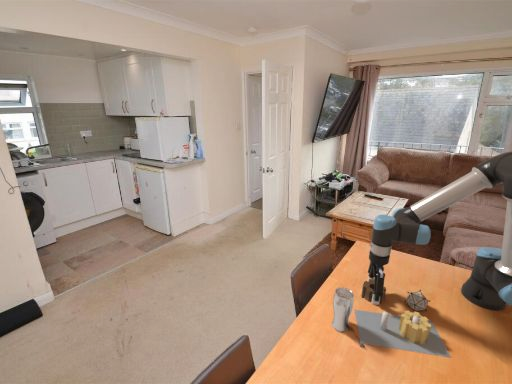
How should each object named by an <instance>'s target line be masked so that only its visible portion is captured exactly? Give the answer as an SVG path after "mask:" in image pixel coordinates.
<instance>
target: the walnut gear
mask: <svg viewBox="0 0 512 384" xmlns="http://www.w3.org/2000/svg"><path fill="white" fill-rule="evenodd" d="M361 289H362V290H361V295H360V296H361V299H364V300H366V301H367V302H369V301H370V302H372V297H373V294H372V292H374V281H373V280H370V281H369V282H368V280H365V281H363V284H362V287H361ZM386 292H387V287H386V286H384V288H383V297H381V296H380V301H379V303H380V304H382V303H383V302H385V299H386Z"/></svg>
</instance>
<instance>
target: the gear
mask: <svg viewBox="0 0 512 384" xmlns="http://www.w3.org/2000/svg"><path fill="white" fill-rule="evenodd" d="M400 316H401V320H400V325H399V330H401V332H400V334H401V335H402V336H403V337H407V338H408V339H409V341H410V342H412V343H414V342H419V343H420V344H425V340H428V336H429V333H430V329H431V324H429V323H428V321H429V320H430V319H428V317H426V316H422V315H421V314H420V312H418V311H416V310H414V312H413V311H410V310H404V312H403V313H401V315H400ZM413 316H418V317H419V318H420V320H419V324H418V325H417V324H415V323H412V320H413Z"/></svg>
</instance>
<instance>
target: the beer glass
mask: <svg viewBox="0 0 512 384" xmlns="http://www.w3.org/2000/svg"><path fill="white" fill-rule="evenodd" d="M354 297H355V295H354V292H353V291H352V290H351V289H349V288H347V287H341V286H340V287H337V288H336V289H334V294H333V301H332V307H333V308H332V309H333V318H332V321H331V325H332V328H333V329H334V330H336V331H337V332H339V333H345V332H347V331H349V328H350V326H349V319H350V318H351V315H352V312H353V309H354V308H353V307H354V300H355V299H354Z"/></svg>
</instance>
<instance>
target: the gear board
mask: <svg viewBox="0 0 512 384" xmlns="http://www.w3.org/2000/svg"><path fill="white" fill-rule="evenodd" d="M354 315H355V320H356V326H357V330H358V335H359V336H358V342H359V347H362V348H366V346H365V345H370V346H376V347H382V348H388V349H394V350H395V349H396V350H401V351H407V352H412V353H413V352H414V353H419V354H420V353H421V354H427V355H433V356H437V357H438V356H439V357H444V358H452V355H451V354H450V352H449V351H448V349H447V347H446V345H445V343H444V341H443V339H442V337H441V336H440V334H439V332H438V330H437V328H436V327H435V325H434V323H433V321H432V319H428V320H429V321H428V323H429V324H431V329H430V333H429V336H428V340H425V344H420V343H419V342H414V343H412V342H410V341H409V339H408V338H407V337H403V336H402V335H401V334H400V332H401V330H399V325H400V320H401V315H396V314H391V313H389V312H387V311H382V313H380V312H373V311H368V310H361V309H354ZM419 320H420V318H419V317H418V316H413V320H412V323H415V324H417V325H418V324H419Z"/></svg>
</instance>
